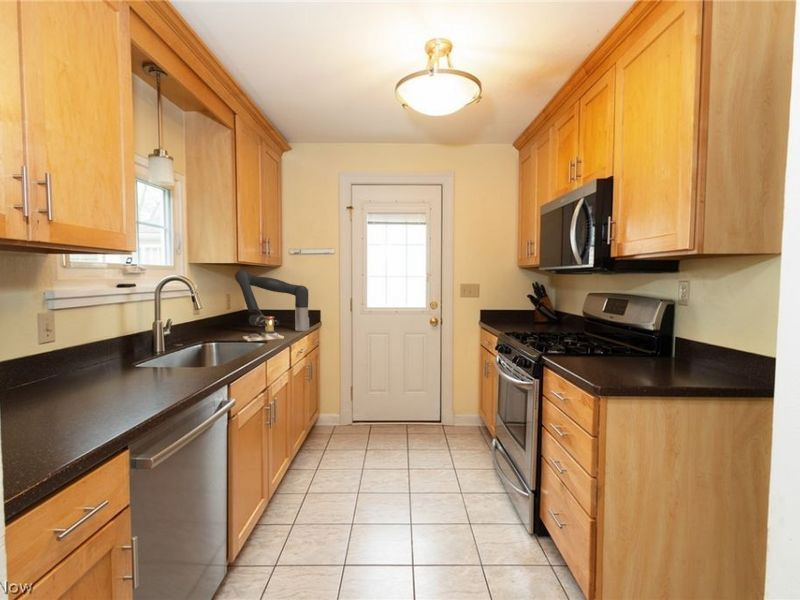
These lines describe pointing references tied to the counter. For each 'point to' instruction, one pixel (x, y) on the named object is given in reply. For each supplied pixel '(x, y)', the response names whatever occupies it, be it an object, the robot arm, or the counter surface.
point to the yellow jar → (269, 325)
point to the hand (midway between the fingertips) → (270, 323)
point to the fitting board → (262, 336)
